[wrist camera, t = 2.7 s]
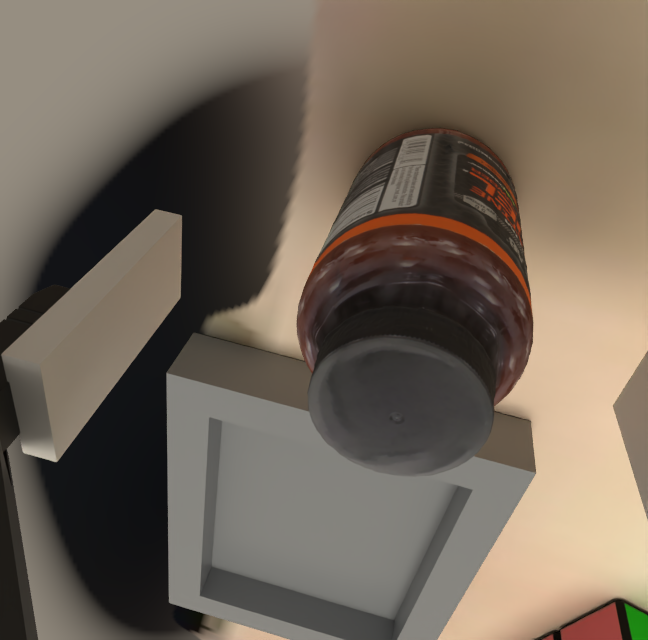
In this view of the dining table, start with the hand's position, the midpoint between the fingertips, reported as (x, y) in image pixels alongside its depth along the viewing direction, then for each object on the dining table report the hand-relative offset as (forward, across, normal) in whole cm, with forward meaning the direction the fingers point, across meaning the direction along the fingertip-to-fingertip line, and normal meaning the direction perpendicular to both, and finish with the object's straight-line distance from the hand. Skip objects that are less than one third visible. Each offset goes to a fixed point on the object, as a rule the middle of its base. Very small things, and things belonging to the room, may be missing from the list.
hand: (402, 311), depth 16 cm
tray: (+7, -1, -19) cm, 20 cm away
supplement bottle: (+7, 0, 0) cm, 7 cm away
